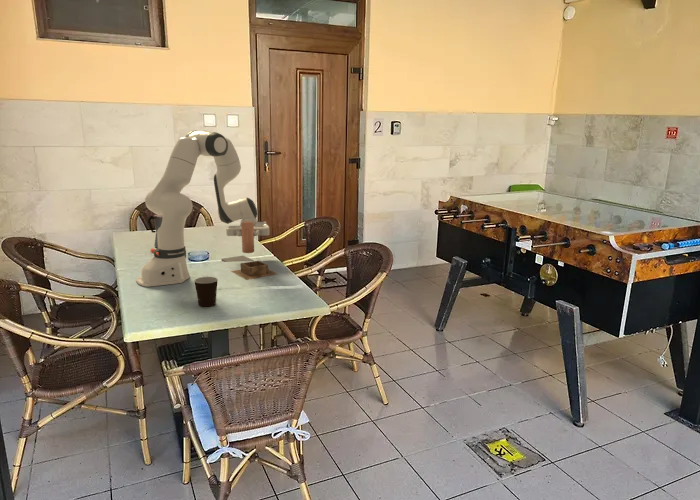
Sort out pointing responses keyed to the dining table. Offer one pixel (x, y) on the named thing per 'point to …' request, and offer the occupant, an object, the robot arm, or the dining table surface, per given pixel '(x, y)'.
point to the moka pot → (156, 225)
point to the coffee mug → (206, 291)
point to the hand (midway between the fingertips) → (247, 234)
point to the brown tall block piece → (247, 236)
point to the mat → (236, 259)
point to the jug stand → (254, 270)
